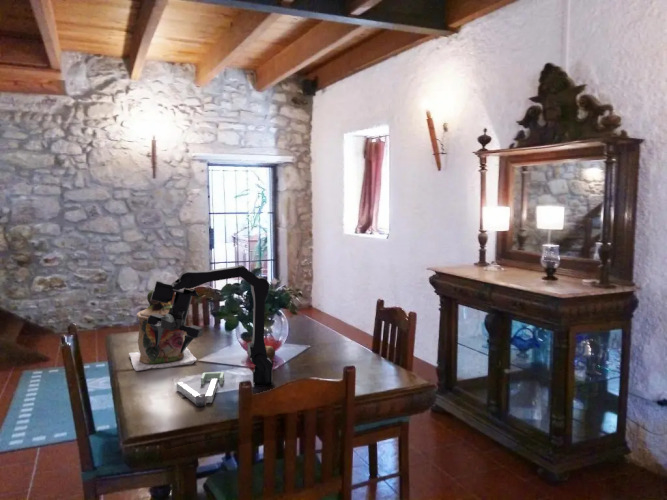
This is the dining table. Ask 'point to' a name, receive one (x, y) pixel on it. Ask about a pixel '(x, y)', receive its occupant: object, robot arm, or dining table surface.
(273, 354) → the mushroom
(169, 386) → the dining table surface
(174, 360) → the cookie jar
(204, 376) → the lock clip
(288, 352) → the dining table surface
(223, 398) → the dining table surface
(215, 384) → the tongs fixed arm
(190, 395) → the tong arm
